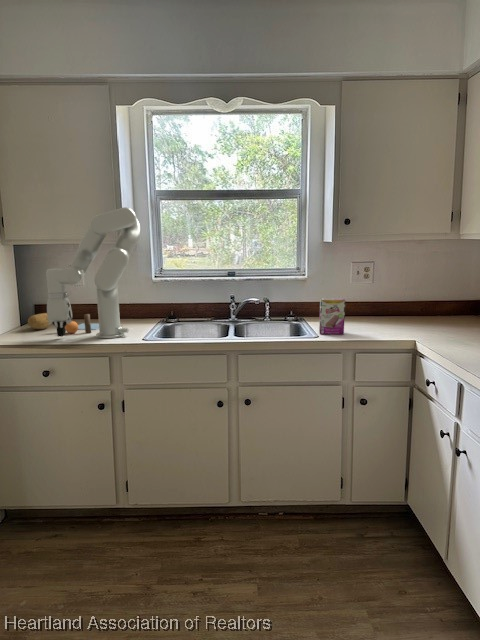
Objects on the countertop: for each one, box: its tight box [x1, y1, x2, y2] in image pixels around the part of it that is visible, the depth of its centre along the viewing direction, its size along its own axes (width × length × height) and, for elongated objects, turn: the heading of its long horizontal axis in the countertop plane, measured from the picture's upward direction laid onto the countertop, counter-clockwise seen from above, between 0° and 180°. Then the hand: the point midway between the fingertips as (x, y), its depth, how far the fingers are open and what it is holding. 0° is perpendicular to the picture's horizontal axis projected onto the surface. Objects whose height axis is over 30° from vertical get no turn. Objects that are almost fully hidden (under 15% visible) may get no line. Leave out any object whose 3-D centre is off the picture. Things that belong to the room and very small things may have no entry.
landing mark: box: [78, 322, 99, 331], centre depth 226 cm, size 14×14×1 cm
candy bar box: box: [318, 297, 346, 336], centre depth 202 cm, size 11×5×16 cm, turn 85°
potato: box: [27, 312, 51, 330], centre depth 221 cm, size 10×14×8 cm
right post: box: [83, 313, 92, 334], centre depth 210 cm, size 3×3×9 cm
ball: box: [65, 320, 79, 334], centre depth 210 cm, size 6×6×6 cm
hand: (61, 335), depth 199 cm, fingers closed
